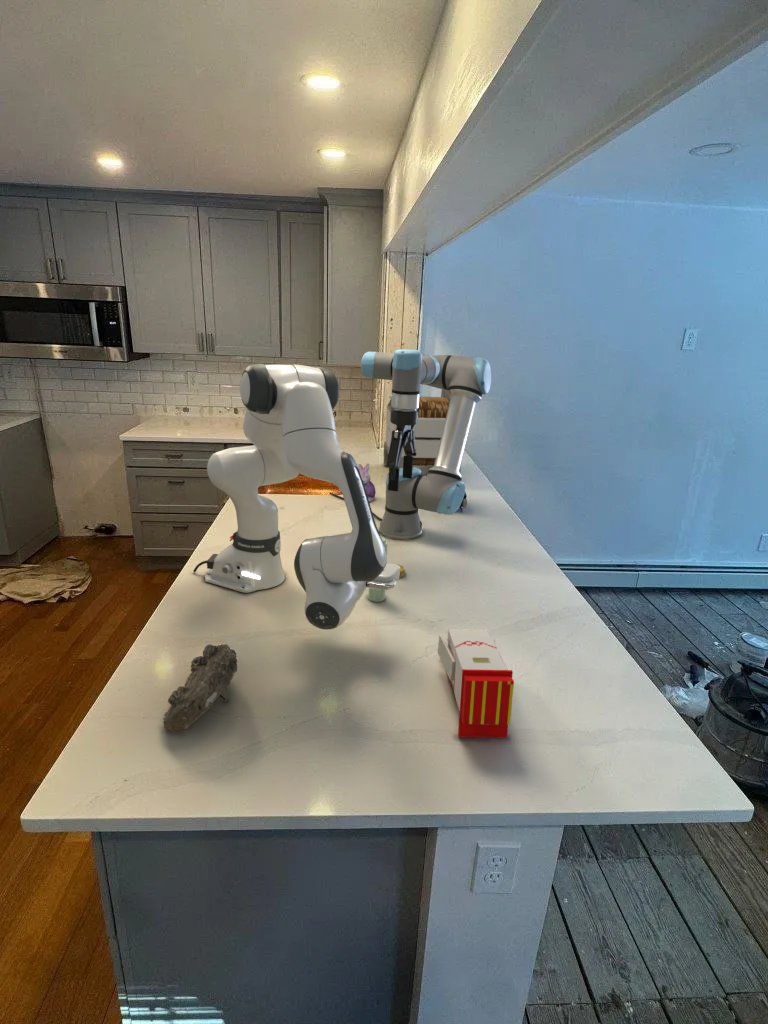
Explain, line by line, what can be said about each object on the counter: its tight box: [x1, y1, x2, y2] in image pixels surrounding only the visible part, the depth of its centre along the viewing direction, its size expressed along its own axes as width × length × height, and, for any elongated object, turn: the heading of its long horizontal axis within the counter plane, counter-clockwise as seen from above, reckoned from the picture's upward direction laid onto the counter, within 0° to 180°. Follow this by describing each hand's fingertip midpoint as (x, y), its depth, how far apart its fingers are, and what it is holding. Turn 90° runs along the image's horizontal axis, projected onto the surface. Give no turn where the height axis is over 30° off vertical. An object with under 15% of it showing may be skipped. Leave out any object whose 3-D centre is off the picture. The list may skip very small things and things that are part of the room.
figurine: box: [357, 463, 377, 503], centre depth 231 cm, size 9×10×15 cm
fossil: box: [162, 643, 238, 732], centre depth 111 cm, size 22×10×15 cm
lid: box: [396, 563, 405, 578], centre depth 169 cm, size 6×6×2 cm
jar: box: [367, 536, 388, 603], centre depth 152 cm, size 5×5×17 cm
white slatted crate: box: [383, 389, 463, 475], centre depth 268 cm, size 34×33×41 cm
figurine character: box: [458, 491, 468, 512], centre depth 228 cm, size 7×8×15 cm
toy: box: [437, 628, 515, 738], centre depth 117 cm, size 12×13×30 cm
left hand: (364, 556), depth 137 cm, fingers open, 8 cm apart
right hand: (400, 484), depth 161 cm, fingers open, 13 cm apart
